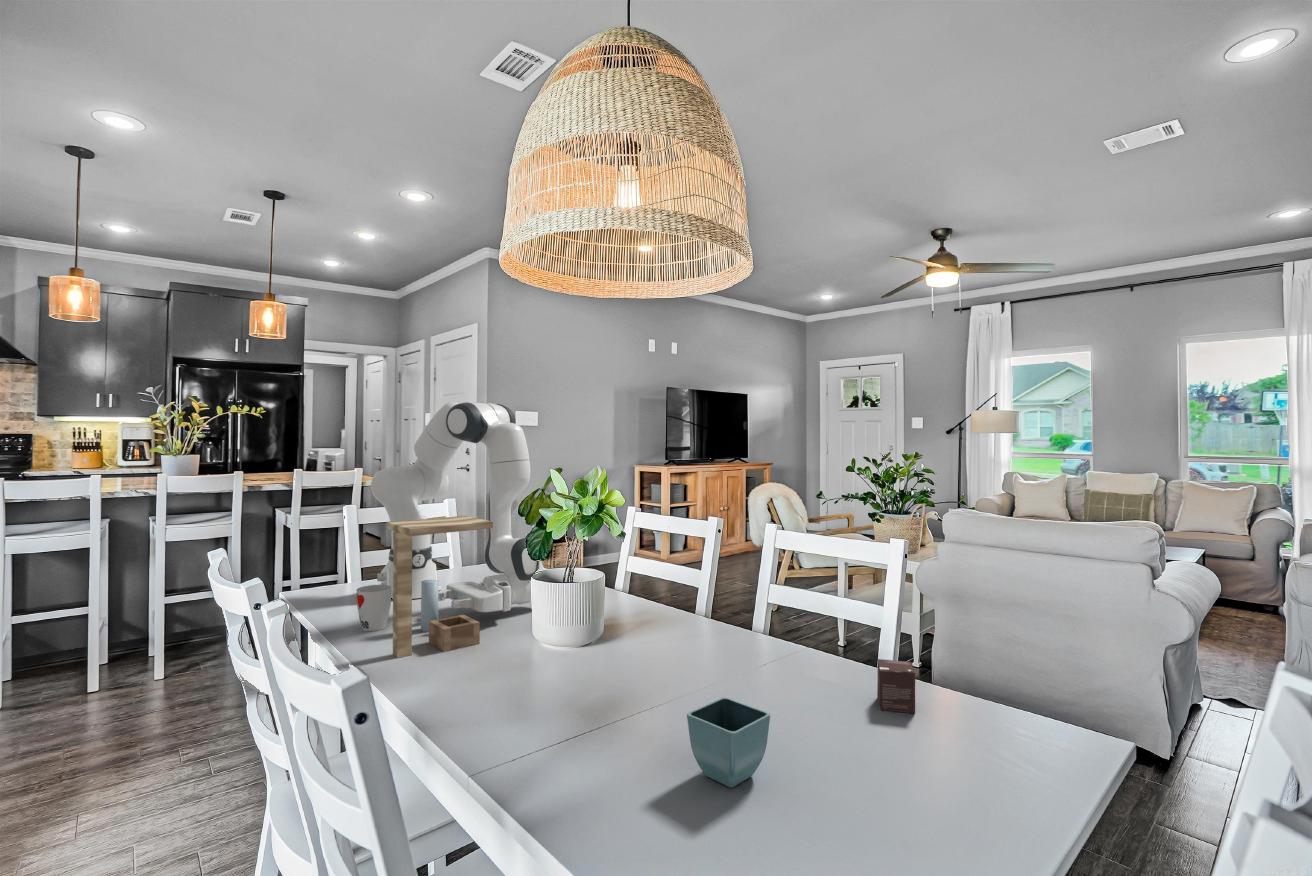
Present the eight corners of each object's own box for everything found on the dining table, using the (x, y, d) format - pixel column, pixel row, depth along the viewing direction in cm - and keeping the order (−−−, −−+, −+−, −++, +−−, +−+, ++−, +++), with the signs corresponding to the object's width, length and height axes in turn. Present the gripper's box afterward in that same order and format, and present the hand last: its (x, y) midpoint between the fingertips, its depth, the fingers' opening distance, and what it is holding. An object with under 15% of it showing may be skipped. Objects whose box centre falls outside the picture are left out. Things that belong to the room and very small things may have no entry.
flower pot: (684, 775, 92) (684, 712, 92) (723, 754, 98) (724, 695, 98) (732, 800, 85) (733, 733, 85) (771, 776, 92) (772, 713, 92)
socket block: (428, 642, 149) (428, 621, 149) (463, 635, 155) (463, 614, 155) (444, 651, 143) (444, 629, 143) (479, 643, 149) (479, 622, 149)
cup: (356, 625, 162) (356, 586, 162) (390, 622, 166) (391, 583, 166) (356, 634, 155) (356, 593, 155) (392, 630, 158) (392, 590, 158)
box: (911, 701, 118) (912, 661, 118) (915, 714, 112) (916, 673, 112) (876, 697, 120) (877, 658, 120) (879, 710, 114) (879, 669, 114)
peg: (418, 629, 160) (418, 581, 160) (434, 626, 162) (434, 578, 162) (424, 632, 157) (425, 583, 157) (440, 629, 159) (441, 581, 159)
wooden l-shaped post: (383, 648, 145) (384, 522, 145) (464, 631, 158) (465, 515, 158) (407, 664, 135) (408, 529, 135) (492, 645, 148) (492, 521, 148)
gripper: (476, 574, 179) (427, 581, 170) (513, 587, 164) (462, 596, 155) (476, 596, 179) (427, 605, 170) (513, 612, 164) (462, 622, 155)
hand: (444, 600), depth 162 cm, fingers open, 8 cm apart
